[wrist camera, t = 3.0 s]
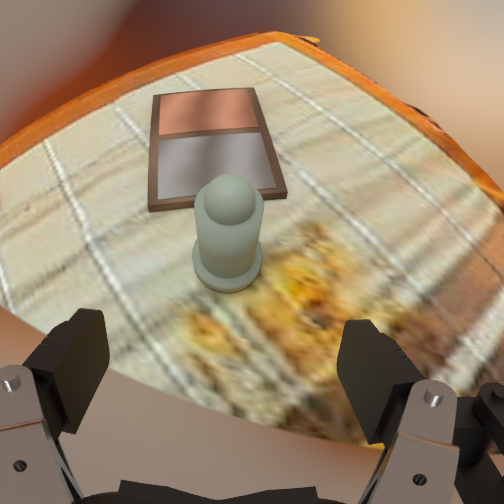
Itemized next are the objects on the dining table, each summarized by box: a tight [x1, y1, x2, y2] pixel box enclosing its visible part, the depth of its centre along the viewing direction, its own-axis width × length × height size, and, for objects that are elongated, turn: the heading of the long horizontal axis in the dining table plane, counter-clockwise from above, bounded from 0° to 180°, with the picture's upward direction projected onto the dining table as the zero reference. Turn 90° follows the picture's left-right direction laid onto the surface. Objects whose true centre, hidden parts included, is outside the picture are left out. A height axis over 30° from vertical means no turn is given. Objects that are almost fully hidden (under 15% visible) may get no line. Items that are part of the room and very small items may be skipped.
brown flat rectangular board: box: [148, 88, 288, 212], centre depth 34 cm, size 13×18×1 cm
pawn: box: [192, 174, 264, 293], centre depth 23 cm, size 6×6×10 cm
